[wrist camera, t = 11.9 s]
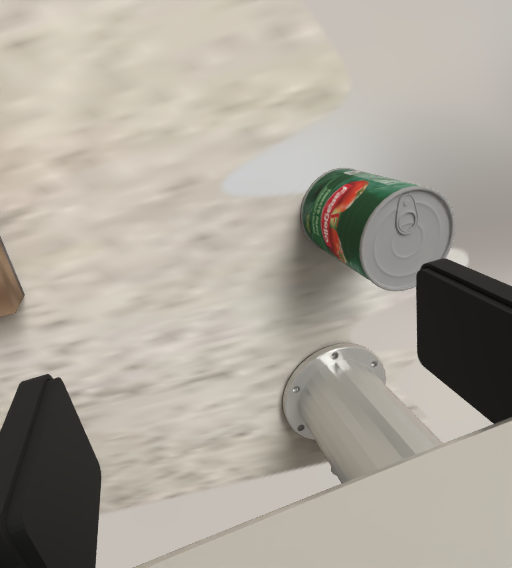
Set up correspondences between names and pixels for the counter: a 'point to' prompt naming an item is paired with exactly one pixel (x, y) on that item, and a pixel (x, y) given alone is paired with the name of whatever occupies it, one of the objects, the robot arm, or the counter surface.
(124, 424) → the counter surface
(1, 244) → the socket block
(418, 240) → the canned tomato
